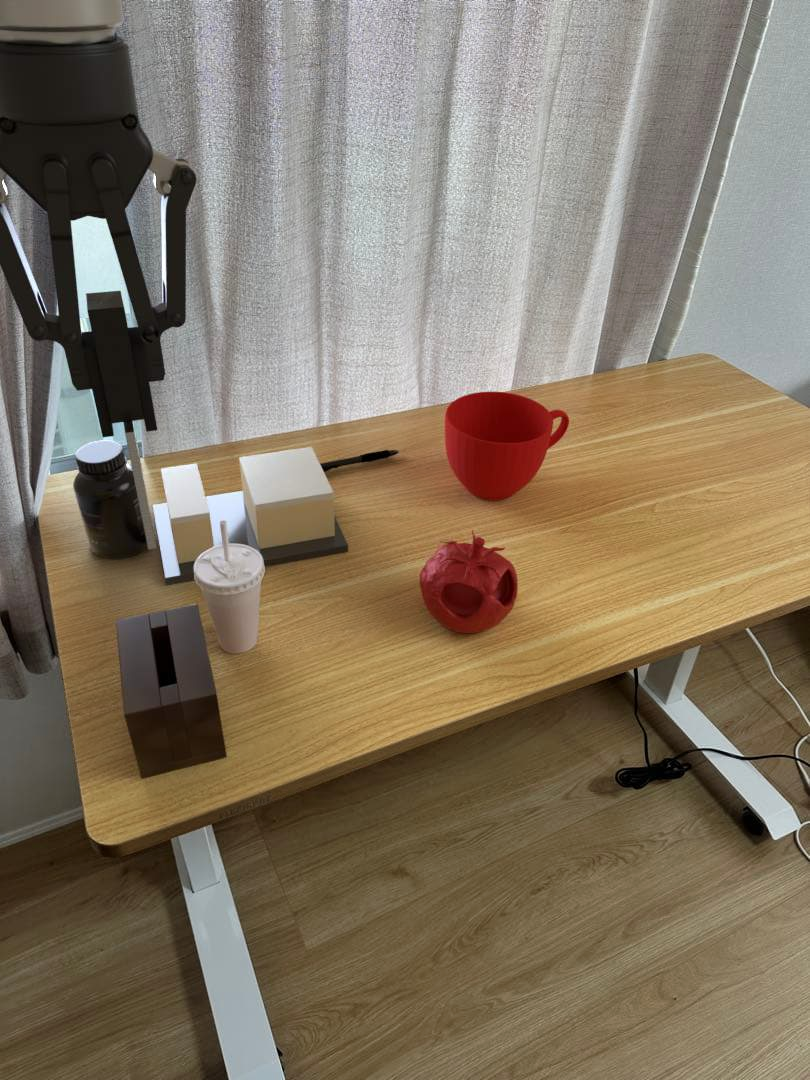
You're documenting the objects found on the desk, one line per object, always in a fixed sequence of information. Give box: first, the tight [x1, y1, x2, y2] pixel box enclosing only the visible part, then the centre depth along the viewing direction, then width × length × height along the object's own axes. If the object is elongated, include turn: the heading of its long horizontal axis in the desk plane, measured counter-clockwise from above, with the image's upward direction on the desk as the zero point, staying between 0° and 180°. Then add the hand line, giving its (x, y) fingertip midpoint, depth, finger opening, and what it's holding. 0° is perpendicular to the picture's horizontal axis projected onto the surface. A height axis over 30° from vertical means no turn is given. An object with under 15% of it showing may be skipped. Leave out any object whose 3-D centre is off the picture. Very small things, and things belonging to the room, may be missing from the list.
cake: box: [238, 446, 335, 549], centre depth 92 cm, size 9×10×6 cm
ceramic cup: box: [444, 391, 570, 501], centre depth 100 cm, size 13×17×10 cm
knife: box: [85, 290, 157, 551], centre depth 57 cm, size 2×6×18 cm, turn 20°
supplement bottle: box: [72, 439, 148, 560], centre depth 87 cm, size 7×7×12 cm
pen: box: [319, 449, 399, 473], centre depth 104 cm, size 14×2×1 cm, turn 113°
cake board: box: [152, 490, 349, 586], centre depth 93 cm, size 20×14×1 cm
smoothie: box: [194, 520, 266, 654], centre depth 75 cm, size 6×6×14 cm
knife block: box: [115, 603, 228, 779], centre depth 69 cm, size 7×11×8 cm, turn 19°
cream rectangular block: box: [160, 463, 214, 564], centre depth 89 cm, size 4×10×6 cm, turn 19°
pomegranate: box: [418, 529, 519, 634], centre depth 81 cm, size 10×10×9 cm
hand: (128, 423), depth 57 cm, fingers closed on knife, 2 cm apart
